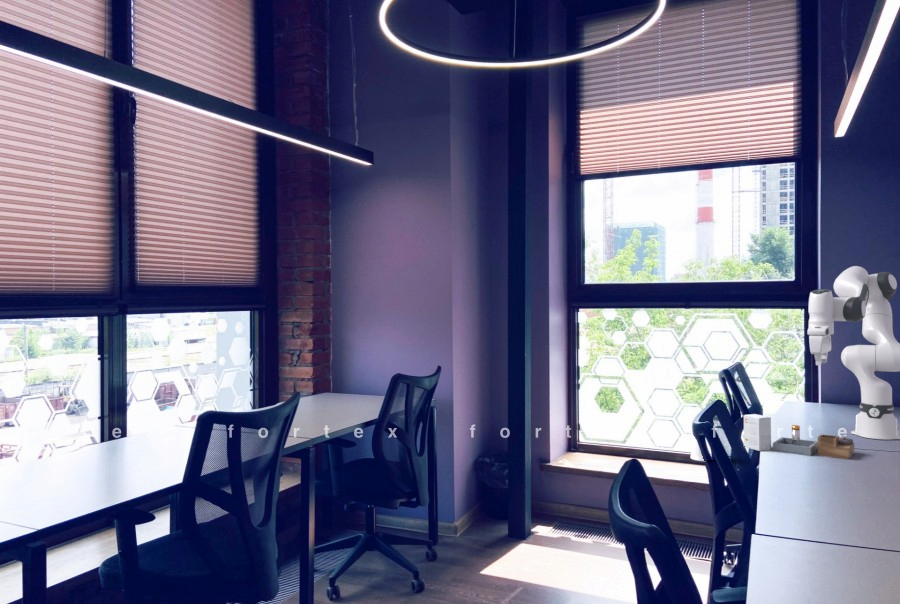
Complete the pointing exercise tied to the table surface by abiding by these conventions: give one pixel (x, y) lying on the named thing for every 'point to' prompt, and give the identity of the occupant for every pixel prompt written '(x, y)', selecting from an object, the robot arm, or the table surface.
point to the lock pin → (796, 435)
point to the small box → (757, 432)
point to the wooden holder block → (835, 446)
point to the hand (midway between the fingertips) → (821, 364)
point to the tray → (795, 446)
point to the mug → (695, 449)
